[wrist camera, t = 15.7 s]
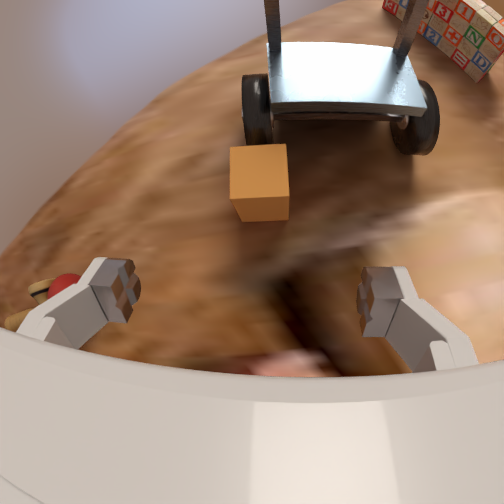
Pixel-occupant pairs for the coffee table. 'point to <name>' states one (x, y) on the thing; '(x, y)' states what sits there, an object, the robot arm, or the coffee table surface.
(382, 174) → the coffee table surface
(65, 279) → the kendama
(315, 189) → the coffee table surface
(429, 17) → the stack of blocks
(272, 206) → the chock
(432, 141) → the trolley
